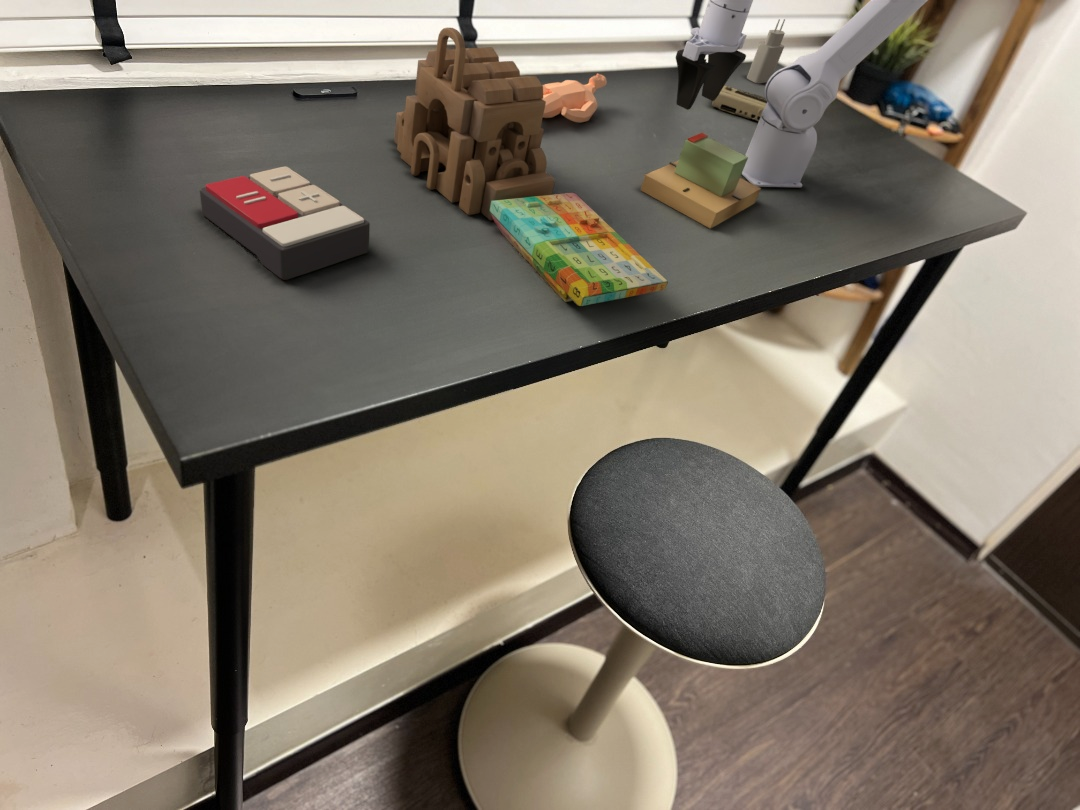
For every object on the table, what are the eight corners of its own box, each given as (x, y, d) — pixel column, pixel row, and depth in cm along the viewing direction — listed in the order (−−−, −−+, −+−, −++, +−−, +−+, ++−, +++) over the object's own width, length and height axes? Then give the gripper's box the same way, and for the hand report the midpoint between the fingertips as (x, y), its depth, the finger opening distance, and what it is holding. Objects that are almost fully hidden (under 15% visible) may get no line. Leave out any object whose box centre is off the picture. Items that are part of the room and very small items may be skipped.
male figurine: (471, 88, 117) (582, 58, 131) (468, 120, 121) (576, 87, 135) (520, 118, 113) (629, 84, 127) (516, 150, 116) (623, 113, 130)
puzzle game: (573, 185, 97) (670, 274, 86) (564, 218, 100) (657, 309, 89) (492, 193, 91) (585, 290, 80) (485, 228, 94) (574, 326, 83)
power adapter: (745, 77, 161) (768, 16, 154) (760, 75, 165) (783, 15, 157) (756, 83, 160) (780, 22, 152) (771, 81, 163) (795, 21, 155)
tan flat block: (687, 168, 121) (693, 152, 119) (755, 203, 116) (762, 187, 114) (639, 190, 111) (644, 172, 110) (711, 229, 107) (717, 212, 105)
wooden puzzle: (560, 207, 103) (596, 63, 90) (470, 226, 94) (496, 70, 82) (464, 132, 113) (485, -5, 101) (376, 144, 105) (387, -5, 93)
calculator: (287, 161, 89) (371, 216, 83) (288, 196, 92) (370, 252, 85) (196, 181, 82) (281, 243, 75) (201, 218, 85) (283, 281, 78)
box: (735, 189, 112) (749, 155, 109) (721, 197, 109) (734, 162, 106) (689, 165, 115) (701, 131, 112) (674, 172, 112) (685, 138, 109)
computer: (795, 120, 148) (802, 103, 146) (792, 134, 142) (800, 117, 140) (716, 94, 149) (722, 77, 147) (710, 107, 143) (716, 90, 141)
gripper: (728, -10, 113) (697, 84, 122) (678, -2, 103) (648, 99, 112) (771, 8, 110) (735, 102, 119) (723, 17, 101) (688, 119, 110)
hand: (695, 102), depth 116 cm, fingers open, 7 cm apart
